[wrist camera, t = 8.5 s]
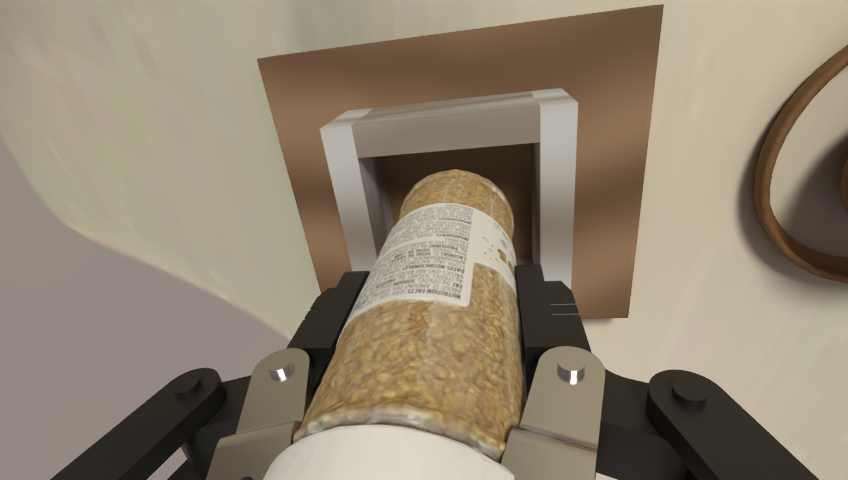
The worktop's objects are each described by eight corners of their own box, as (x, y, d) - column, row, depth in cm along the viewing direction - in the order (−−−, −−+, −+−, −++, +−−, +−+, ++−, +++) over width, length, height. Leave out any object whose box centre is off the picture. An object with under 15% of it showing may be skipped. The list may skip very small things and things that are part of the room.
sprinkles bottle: (517, 265, 17) (571, 780, 6) (409, 272, 18) (262, 728, 7) (509, 157, 15) (567, 604, 4) (389, 171, 16) (123, 566, 5)
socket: (272, 56, 19) (209, 66, 15) (649, 5, 17) (708, 0, 12) (337, 307, 26) (306, 367, 21) (619, 300, 23) (652, 367, 18)
